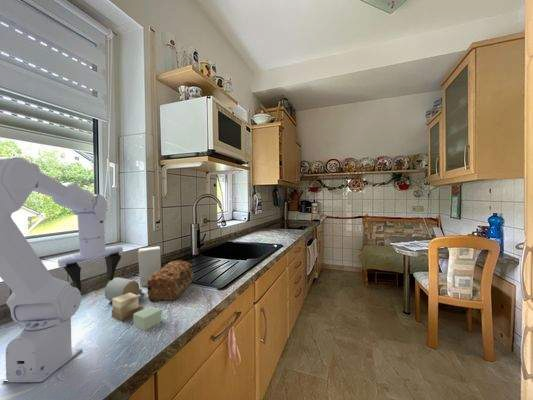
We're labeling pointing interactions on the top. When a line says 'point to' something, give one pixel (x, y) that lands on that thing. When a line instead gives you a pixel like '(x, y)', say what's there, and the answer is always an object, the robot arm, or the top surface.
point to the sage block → (147, 318)
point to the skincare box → (148, 263)
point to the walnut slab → (126, 314)
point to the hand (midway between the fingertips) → (95, 284)
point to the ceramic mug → (121, 288)
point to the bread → (170, 281)
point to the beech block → (125, 303)
